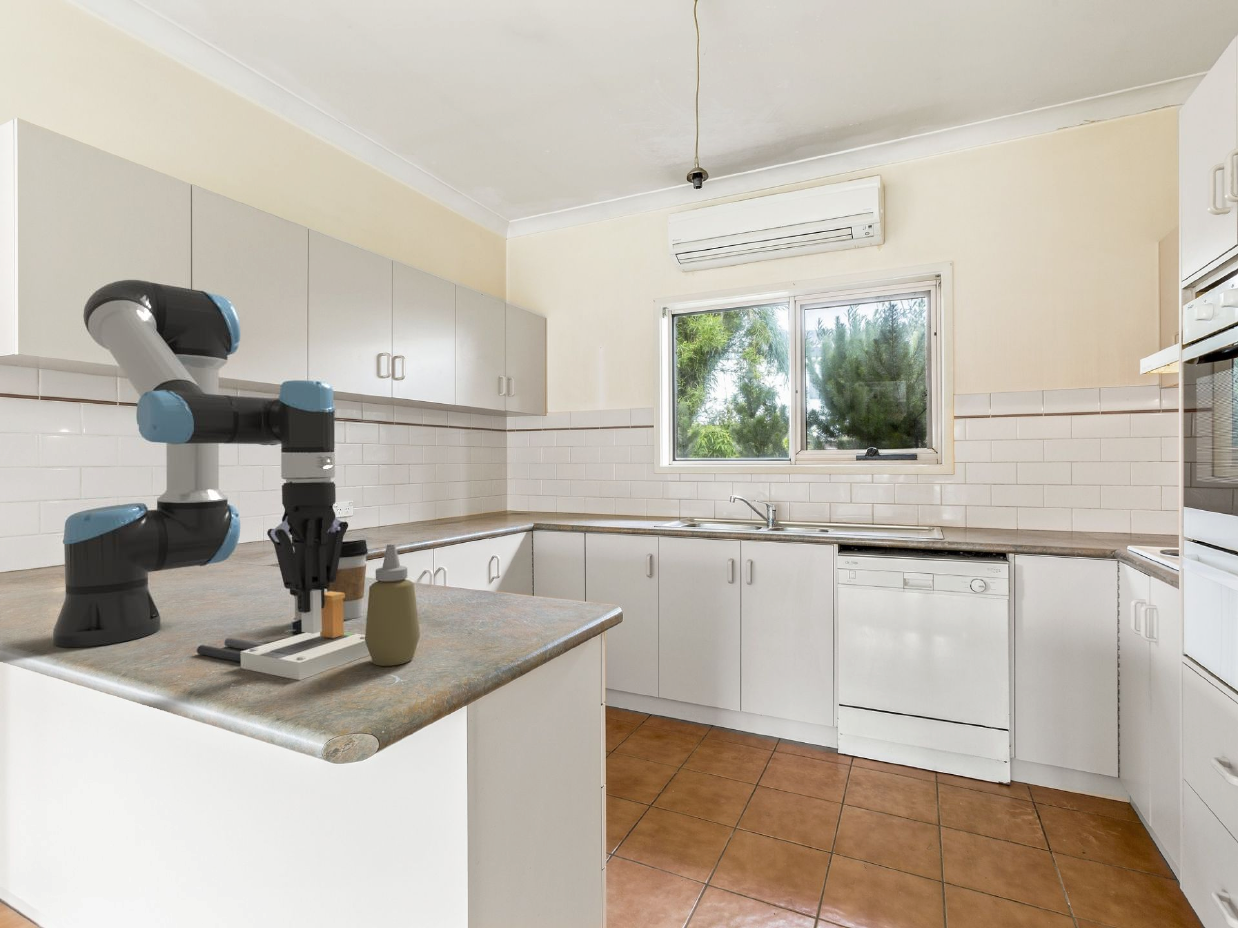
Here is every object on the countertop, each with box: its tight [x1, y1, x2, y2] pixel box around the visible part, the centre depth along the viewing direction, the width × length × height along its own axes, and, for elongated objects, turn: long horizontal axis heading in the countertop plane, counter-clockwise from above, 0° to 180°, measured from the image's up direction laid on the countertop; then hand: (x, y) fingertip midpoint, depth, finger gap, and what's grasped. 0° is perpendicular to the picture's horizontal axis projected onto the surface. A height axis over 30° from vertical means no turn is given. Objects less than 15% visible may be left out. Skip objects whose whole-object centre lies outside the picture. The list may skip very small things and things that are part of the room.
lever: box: [320, 591, 345, 638], centre depth 103 cm, size 3×2×7 cm
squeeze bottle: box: [364, 543, 421, 667], centre depth 98 cm, size 8×8×18 cm
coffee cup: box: [326, 539, 369, 621], centre depth 127 cm, size 8×8×15 cm
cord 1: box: [196, 644, 241, 663], centre depth 101 cm, size 13×1×1 cm, turn 64°
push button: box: [283, 589, 306, 639], centre depth 113 cm, size 7×5×10 cm
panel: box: [240, 631, 370, 681], centre depth 99 cm, size 13×14×3 cm
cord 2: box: [224, 637, 266, 651], centre depth 105 cm, size 13×1×1 cm, turn 64°
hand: (311, 631), depth 99 cm, fingers closed
